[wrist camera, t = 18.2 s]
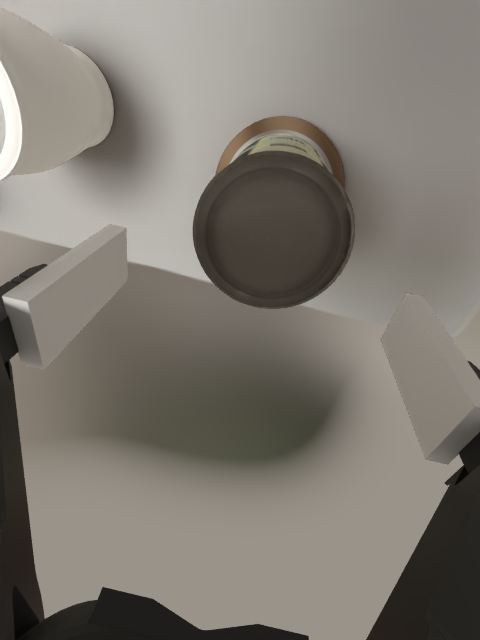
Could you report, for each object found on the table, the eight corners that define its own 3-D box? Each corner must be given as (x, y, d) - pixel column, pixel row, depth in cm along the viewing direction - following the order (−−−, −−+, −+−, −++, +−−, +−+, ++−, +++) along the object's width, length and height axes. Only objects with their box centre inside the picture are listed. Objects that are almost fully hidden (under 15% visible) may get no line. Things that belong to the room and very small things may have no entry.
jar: (124, 43, 28) (-3, -5, 16) (126, 167, 34) (34, 202, 22) (9, 17, 29) (-206, -51, 16) (31, 146, 34) (-115, 168, 22)
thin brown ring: (311, 84, 28) (312, 83, 27) (360, 216, 34) (363, 220, 32) (193, 162, 33) (189, 165, 32) (253, 266, 39) (251, 272, 37)
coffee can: (243, 251, 36) (221, 321, 24) (212, 153, 31) (166, 182, 19) (337, 228, 33) (363, 294, 22) (321, 115, 28) (343, 124, 16)
